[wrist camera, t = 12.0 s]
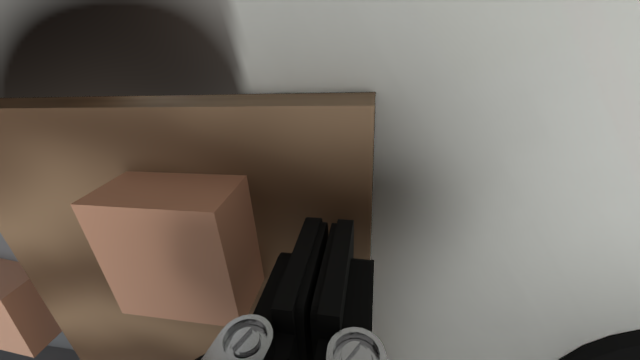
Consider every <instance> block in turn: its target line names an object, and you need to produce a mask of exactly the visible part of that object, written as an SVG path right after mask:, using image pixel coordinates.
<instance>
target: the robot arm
mask: <svg viewBox="0 0 640 360" xmlns="http://www.w3.org/2000/svg"><path fill="white" fill-rule="evenodd" d="M373 273H374V260H366V259H355V258H354V220H345V219H338V221H337V223H332V224H331V227H330V231H329V236H328V223H327V222H323V221H322V218H314V217H306V218H305V221H304V223H303V226H302V228H301V231H300V234H299V236H298V239H297V241H296V244H295V247H294V249H293V252H292V253H285V252H281V253H280V254H279V256H278V258H277V260H276V263H275V265H274V267H273V269H272V272H271V274H270V276H269V279H268V281H267V283H266V285H265V288H264V290H263V292H262V295H261V297H260V299H259V301H258V304H257V306H256V308H255V310H254V313H253V314H248V315H242V316H240V317H237V318H235V319H233V320H232V321H230V322H229V323H228V324H227V325H226V326H225V327H224V328H223V329H222V330H221V331H220V333H219V334H218V336H217V337H216V339H215V340H214V342H213V343H212V344H211V346H210V347H209V349H208V350H207V352H206V353H205V354H203V355H202V356H200V357H198V358H196V359H195V360H388V359H387V354H386V350H385V348H384V345H383V343H382V342H381V340H380V339H379V338H378V337H377V336H376V335H375V334H374V333H372V306H373Z"/></svg>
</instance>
